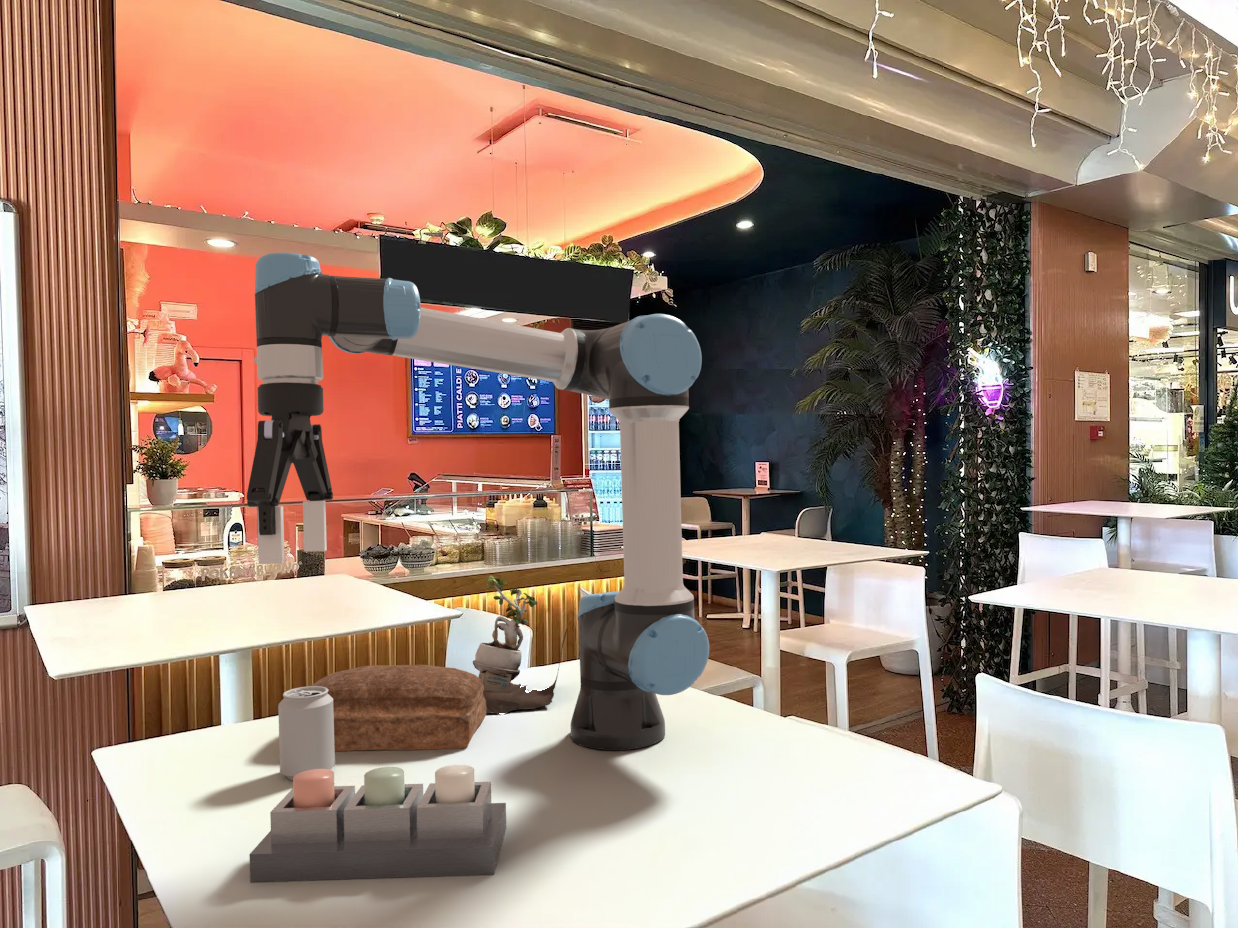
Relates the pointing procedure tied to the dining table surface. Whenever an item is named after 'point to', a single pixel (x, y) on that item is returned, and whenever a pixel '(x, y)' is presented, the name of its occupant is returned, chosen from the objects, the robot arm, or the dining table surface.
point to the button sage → (384, 786)
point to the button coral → (313, 788)
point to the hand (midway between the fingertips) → (294, 557)
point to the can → (306, 730)
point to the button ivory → (455, 784)
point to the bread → (404, 707)
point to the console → (381, 838)
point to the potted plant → (507, 660)
